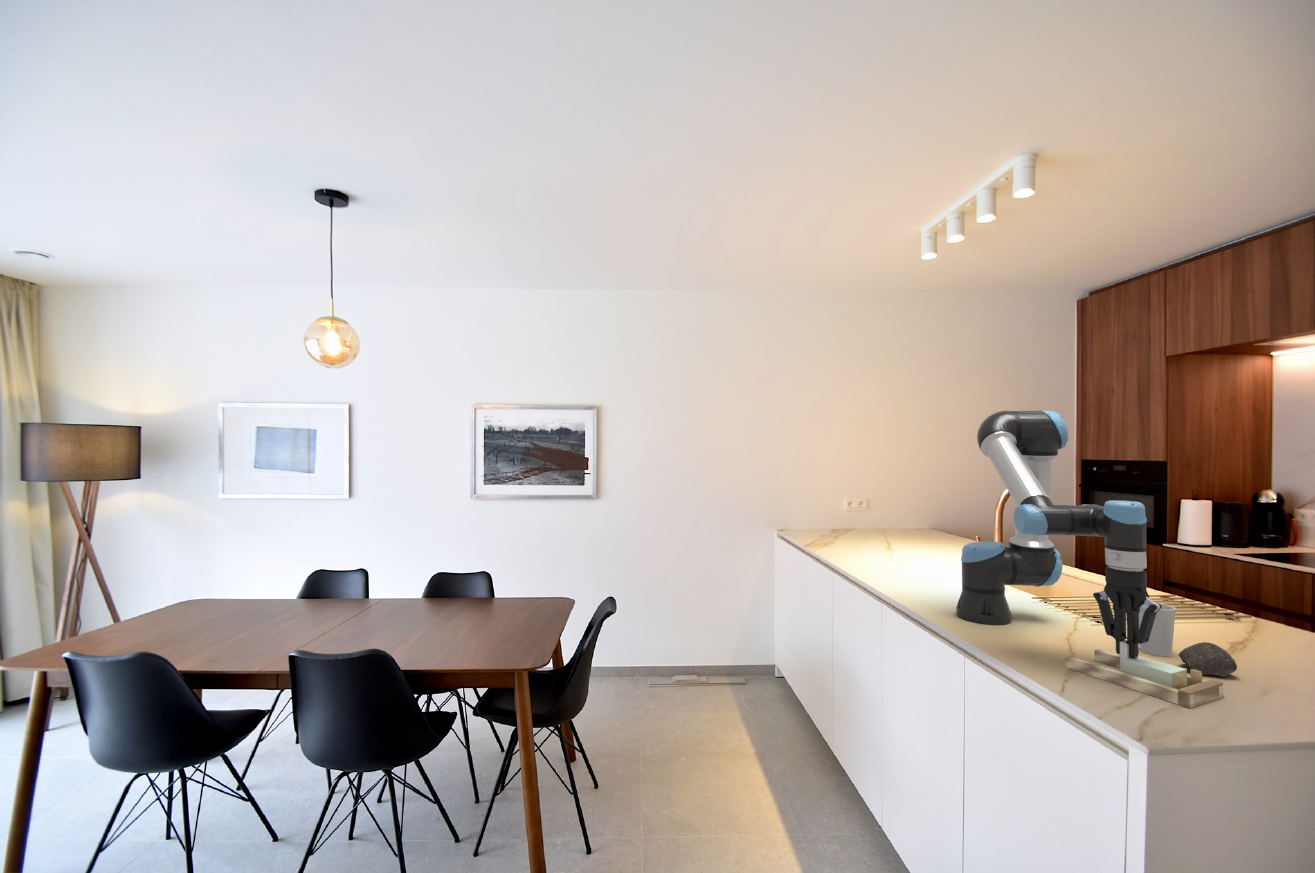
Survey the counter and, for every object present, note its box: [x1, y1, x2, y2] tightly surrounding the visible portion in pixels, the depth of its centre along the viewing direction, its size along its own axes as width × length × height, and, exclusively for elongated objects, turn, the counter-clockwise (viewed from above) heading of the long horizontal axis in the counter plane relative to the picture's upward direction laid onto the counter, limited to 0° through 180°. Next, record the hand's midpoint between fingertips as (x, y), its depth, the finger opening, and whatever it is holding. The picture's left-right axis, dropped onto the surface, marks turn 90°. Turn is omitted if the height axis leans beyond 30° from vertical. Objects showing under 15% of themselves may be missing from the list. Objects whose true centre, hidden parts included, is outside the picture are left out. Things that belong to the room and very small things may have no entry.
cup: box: [1139, 602, 1176, 658], centre depth 150 cm, size 8×8×12 cm
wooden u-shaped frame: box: [1065, 648, 1224, 709], centre depth 131 cm, size 24×13×5 cm, turn 24°
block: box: [1123, 655, 1188, 688], centre depth 128 cm, size 9×6×5 cm, turn 24°
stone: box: [1177, 641, 1238, 678], centre depth 136 cm, size 10×8×10 cm
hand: (1127, 670), depth 133 cm, fingers closed
